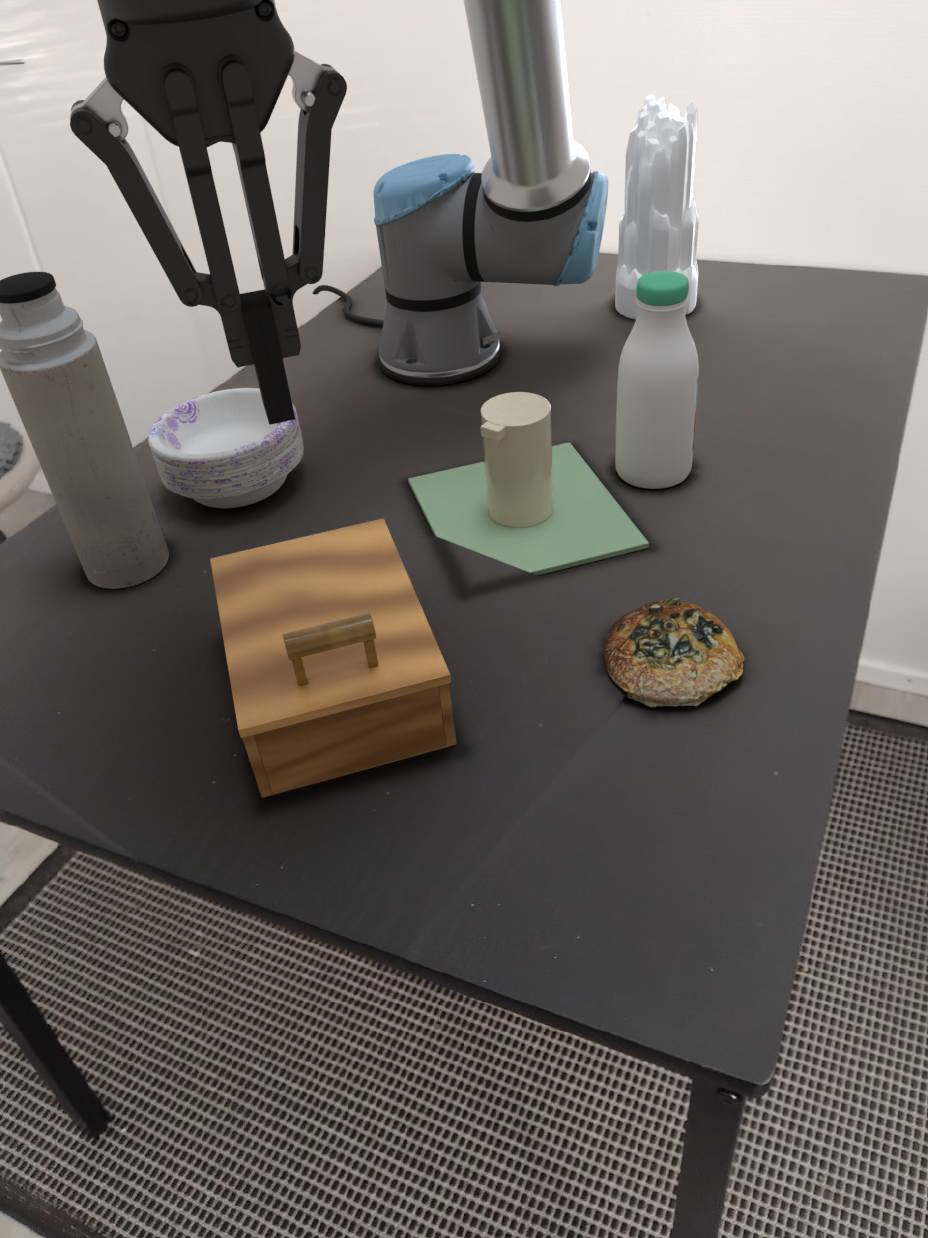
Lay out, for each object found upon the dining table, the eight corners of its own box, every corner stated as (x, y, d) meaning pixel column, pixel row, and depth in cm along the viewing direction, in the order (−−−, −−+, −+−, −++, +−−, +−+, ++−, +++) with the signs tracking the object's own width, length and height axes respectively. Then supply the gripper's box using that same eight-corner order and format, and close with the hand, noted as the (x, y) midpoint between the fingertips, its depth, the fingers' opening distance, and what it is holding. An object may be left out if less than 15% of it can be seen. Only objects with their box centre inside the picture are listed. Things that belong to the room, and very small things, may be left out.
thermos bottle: (117, 535, 99) (13, 259, 81) (184, 545, 97) (93, 263, 79) (69, 582, 93) (-54, 297, 75) (139, 594, 91) (29, 303, 73)
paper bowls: (179, 456, 110) (159, 392, 105) (313, 442, 110) (300, 377, 105) (156, 533, 99) (133, 465, 94) (306, 517, 99) (291, 448, 94)
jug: (523, 540, 92) (518, 436, 85) (469, 520, 95) (460, 419, 88) (577, 493, 97) (576, 392, 90) (524, 475, 100) (519, 377, 93)
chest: (457, 751, 73) (448, 675, 68) (264, 805, 71) (239, 730, 66) (396, 597, 88) (384, 526, 83) (234, 637, 85) (212, 566, 80)
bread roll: (632, 602, 84) (640, 559, 80) (756, 652, 80) (771, 609, 77) (575, 687, 77) (582, 644, 74) (708, 746, 74) (722, 704, 70)
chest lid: (451, 682, 67) (444, 626, 64) (240, 738, 65) (222, 683, 62) (384, 525, 83) (376, 474, 79) (212, 566, 80) (196, 514, 77)
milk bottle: (690, 492, 97) (706, 295, 84) (611, 489, 98) (615, 295, 85) (692, 452, 102) (707, 262, 90) (618, 450, 104) (622, 262, 91)
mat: (408, 483, 102) (407, 478, 102) (569, 446, 105) (569, 441, 105) (462, 594, 87) (462, 589, 87) (648, 548, 90) (649, 542, 90)
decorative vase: (702, 318, 127) (718, 107, 111) (619, 323, 128) (624, 114, 112) (688, 286, 136) (702, 85, 120) (610, 291, 136) (614, 92, 120)
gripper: (-4, -74, 37) (167, 467, 52) (335, -114, 39) (405, 417, 54) (8, -87, 42) (160, 406, 57) (304, -121, 45) (375, 362, 60)
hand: (279, 411), depth 56 cm, fingers closed
